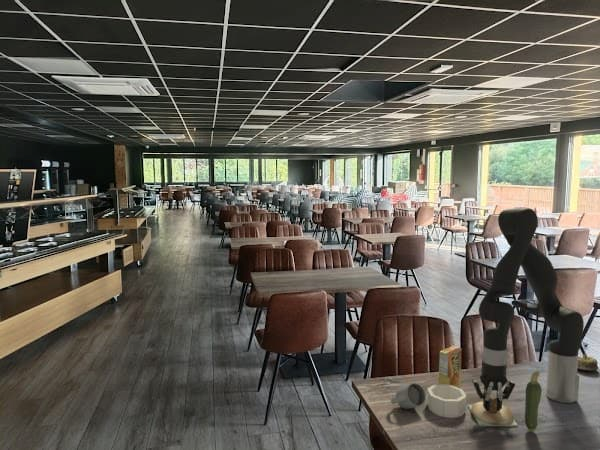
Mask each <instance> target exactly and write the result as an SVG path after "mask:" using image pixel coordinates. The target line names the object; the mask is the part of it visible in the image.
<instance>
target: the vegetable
mask: <svg viewBox="0 0 600 450" xmlns="http://www.w3.org/2000/svg"><path fill="white" fill-rule="evenodd" d="M540 375H541V374H540V371H534V372H533V373H532V374H531V375H530V381H528V383H527V384H526V387H525V406H524V407H525V408H524V423H525V426H526V427H527V430H528V432H529V433H532V432H534V431H536V430H537V429H536V428H537V427H538V415H539V413H538V412H539V405H540V403H541V397H542V386H541V384H540V383H539V382H538V379H539V377H540Z"/></svg>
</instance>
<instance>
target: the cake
mask: <svg viewBox="0 0 600 450" xmlns="http://www.w3.org/2000/svg"><path fill="white" fill-rule="evenodd" d="M578 369H579V370H583V371H597V370H599V366H598V360H597V359H596V358H594V357H592V356H587V355H586V354H585V353H583V354H582V356H579V355H578V365H577V370H578Z"/></svg>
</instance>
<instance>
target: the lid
mask: <svg viewBox="0 0 600 450" xmlns="http://www.w3.org/2000/svg"><path fill="white" fill-rule="evenodd" d="M497 403H498V399H497V396H493V395H490V396H489V411H486V409H485V408H484V407H483V400H482V401H478V402H474V403H473V404H471V405H472V407H471V411H470V412H471V414H472V416H473V417H474V419H475V418H477V419H478V420H480V421H482V422H485V423H488V424H492V425H507V424H510V423H512V422H513V419H514V416H515V415H514V412H513V410H511V409H510V408H509V407H507V406H505V405H503V404H502V409H500V411H497ZM514 420H515V419H514Z"/></svg>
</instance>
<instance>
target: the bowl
mask: <svg viewBox="0 0 600 450" xmlns="http://www.w3.org/2000/svg"><path fill="white" fill-rule="evenodd" d="M426 393H427V394H426V401H427V402H426V403H427V407H428V410H429V411H430V412H431V413H433V414H434V415H437V416H439V417H441V416H442V417H443V418H447V419H456V418H461V417H463V416H464V415H465V412H466V411H467V394H466V392H465V391H464V389H462V388H461V387H459V388H457V387H455V386H452V385H449V384H439V383H438V384H437V383H435V384H432V385H431V386H429V387H427V391H426Z"/></svg>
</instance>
